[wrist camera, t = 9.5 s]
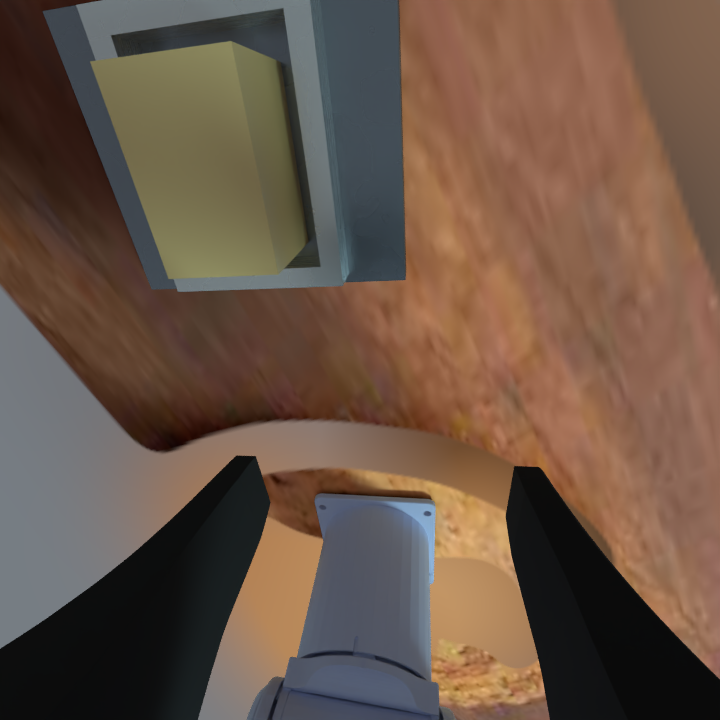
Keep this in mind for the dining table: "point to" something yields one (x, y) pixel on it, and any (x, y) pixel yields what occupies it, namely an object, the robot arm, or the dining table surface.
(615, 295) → the dining table surface
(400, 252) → the plate
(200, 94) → the block
